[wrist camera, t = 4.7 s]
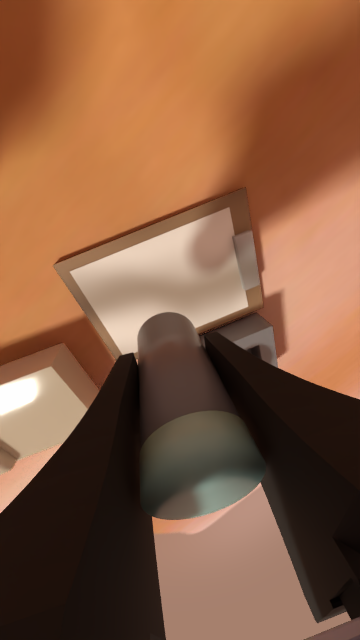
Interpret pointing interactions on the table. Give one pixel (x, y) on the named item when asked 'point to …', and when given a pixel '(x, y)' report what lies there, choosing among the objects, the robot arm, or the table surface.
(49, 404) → the electrical outlet
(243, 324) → the grey egg holder
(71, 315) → the table surface
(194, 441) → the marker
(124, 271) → the clipboard
